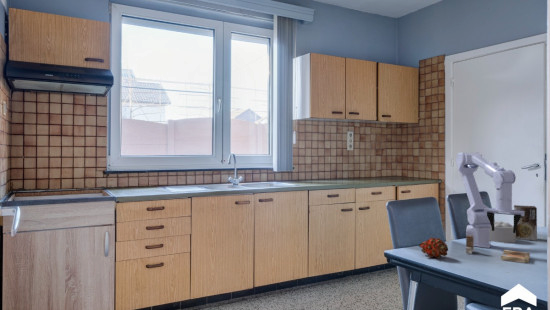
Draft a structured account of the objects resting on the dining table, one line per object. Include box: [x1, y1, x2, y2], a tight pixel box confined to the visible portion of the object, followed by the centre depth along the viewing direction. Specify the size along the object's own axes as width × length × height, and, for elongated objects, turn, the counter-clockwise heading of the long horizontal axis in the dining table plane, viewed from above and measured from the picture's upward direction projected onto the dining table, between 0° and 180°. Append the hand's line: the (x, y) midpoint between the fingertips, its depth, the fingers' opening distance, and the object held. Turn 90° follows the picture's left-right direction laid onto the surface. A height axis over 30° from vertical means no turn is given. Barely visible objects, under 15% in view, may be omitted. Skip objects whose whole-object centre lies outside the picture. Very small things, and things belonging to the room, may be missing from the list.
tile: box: [506, 254, 525, 258], centre depth 158 cm, size 6×6×1 cm
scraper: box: [465, 235, 475, 255], centre depth 167 cm, size 2×6×7 cm, turn 145°
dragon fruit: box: [418, 237, 449, 259], centre depth 160 cm, size 8×8×12 cm
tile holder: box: [500, 249, 530, 264], centre depth 158 cm, size 9×11×2 cm
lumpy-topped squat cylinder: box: [489, 221, 517, 244], centre depth 191 cm, size 10×13×9 cm
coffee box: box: [513, 204, 538, 241], centre depth 194 cm, size 9×6×16 cm
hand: (503, 231), depth 164 cm, fingers open, 7 cm apart
